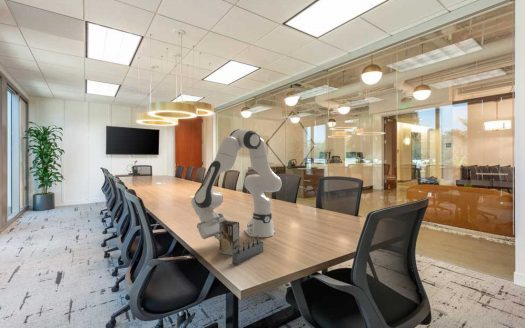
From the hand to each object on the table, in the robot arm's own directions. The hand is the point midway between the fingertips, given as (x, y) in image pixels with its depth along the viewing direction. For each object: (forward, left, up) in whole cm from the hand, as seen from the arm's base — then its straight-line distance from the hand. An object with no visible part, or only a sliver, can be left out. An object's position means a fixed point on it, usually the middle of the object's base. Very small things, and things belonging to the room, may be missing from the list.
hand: (222, 240), depth 140 cm
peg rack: (+16, +8, -5) cm, 18 cm away
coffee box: (+5, +2, -5) cm, 8 cm away
